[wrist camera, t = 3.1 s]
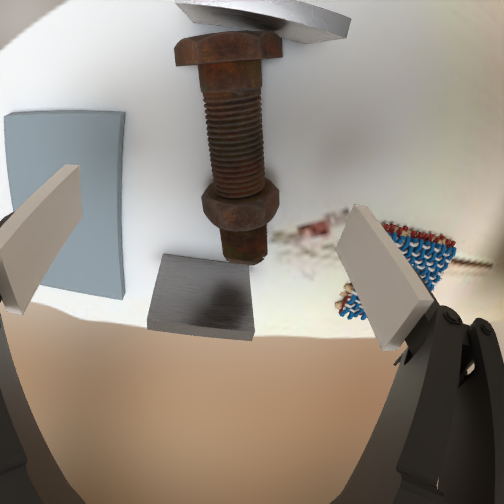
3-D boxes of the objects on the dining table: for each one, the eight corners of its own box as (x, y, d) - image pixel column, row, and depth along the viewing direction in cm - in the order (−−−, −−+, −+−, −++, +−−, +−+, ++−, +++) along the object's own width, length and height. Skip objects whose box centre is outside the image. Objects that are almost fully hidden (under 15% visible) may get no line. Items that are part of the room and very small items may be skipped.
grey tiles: (309, 30, 15) (351, 18, 9) (245, 274, 26) (251, 340, 20) (197, 8, 13) (179, -19, 8) (162, 263, 24) (147, 329, 19)
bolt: (234, 227, 25) (215, 38, 16) (292, 241, 23) (290, 33, 14) (194, 271, 21) (155, 43, 12) (260, 291, 19) (244, 28, 10)
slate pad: (125, 112, 17) (120, 115, 16) (125, 292, 26) (122, 300, 25) (11, 113, 15) (3, 116, 14) (35, 276, 24) (31, 283, 23)
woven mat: (454, 235, 26) (464, 247, 24) (407, 310, 31) (413, 323, 30) (374, 214, 24) (384, 227, 22) (329, 305, 30) (334, 320, 28)
